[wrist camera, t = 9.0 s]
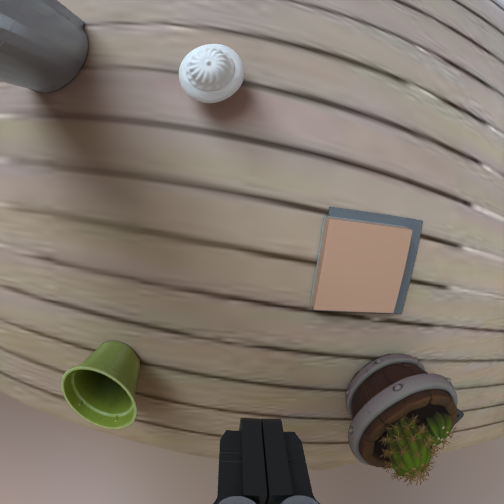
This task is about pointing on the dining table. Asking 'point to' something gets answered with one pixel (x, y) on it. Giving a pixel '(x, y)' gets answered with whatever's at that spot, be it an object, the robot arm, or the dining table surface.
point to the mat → (392, 220)
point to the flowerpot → (399, 414)
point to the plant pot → (104, 386)
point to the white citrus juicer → (211, 73)
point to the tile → (359, 265)
